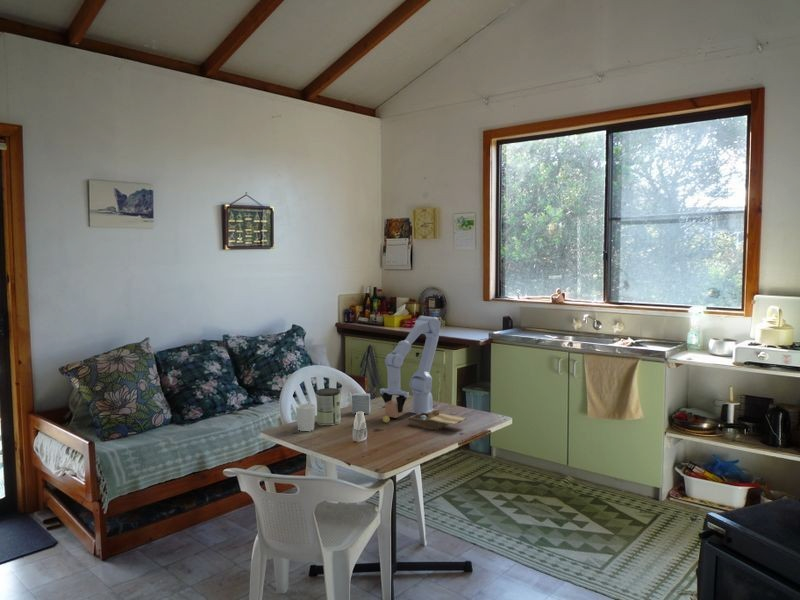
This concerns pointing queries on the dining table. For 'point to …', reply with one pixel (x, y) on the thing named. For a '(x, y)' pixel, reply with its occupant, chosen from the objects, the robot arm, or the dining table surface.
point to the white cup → (305, 417)
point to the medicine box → (361, 403)
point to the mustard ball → (386, 419)
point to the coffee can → (328, 406)
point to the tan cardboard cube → (392, 409)
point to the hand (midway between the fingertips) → (394, 411)
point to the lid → (444, 417)
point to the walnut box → (424, 422)
